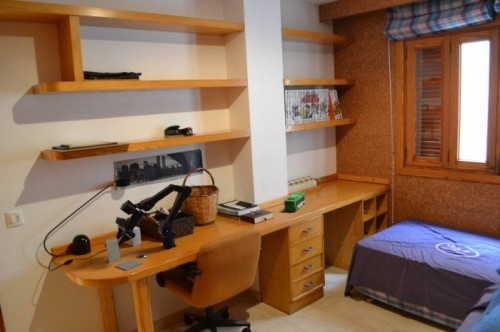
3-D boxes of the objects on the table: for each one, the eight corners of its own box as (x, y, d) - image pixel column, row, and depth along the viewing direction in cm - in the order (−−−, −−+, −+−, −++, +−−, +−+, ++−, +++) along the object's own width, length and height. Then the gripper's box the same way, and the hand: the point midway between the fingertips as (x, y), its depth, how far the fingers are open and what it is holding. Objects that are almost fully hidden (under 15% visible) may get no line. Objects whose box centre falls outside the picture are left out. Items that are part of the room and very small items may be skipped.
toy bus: (309, 204, 315) (308, 191, 314) (294, 213, 293) (293, 199, 292) (296, 203, 321) (296, 190, 320) (280, 211, 299) (280, 198, 298)
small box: (126, 244, 250) (124, 227, 248) (135, 241, 253) (133, 225, 252) (133, 246, 244) (131, 230, 242) (141, 244, 248) (139, 227, 246)
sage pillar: (118, 257, 227) (115, 237, 226) (120, 260, 223) (117, 239, 221) (108, 260, 225) (105, 239, 223) (110, 263, 220) (107, 242, 218)
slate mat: (131, 260, 222) (131, 259, 222) (142, 264, 215) (142, 263, 215) (115, 266, 214) (115, 265, 214) (126, 270, 208) (126, 269, 208)
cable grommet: (143, 253, 231) (143, 252, 231) (149, 255, 227) (149, 254, 227) (134, 256, 227) (134, 256, 227) (140, 258, 223) (140, 258, 223)
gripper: (119, 208, 232) (101, 230, 228) (127, 215, 215) (108, 239, 212) (134, 219, 237) (117, 241, 233) (143, 226, 220) (124, 250, 217)
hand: (116, 242), depth 223 cm, fingers open, 9 cm apart
